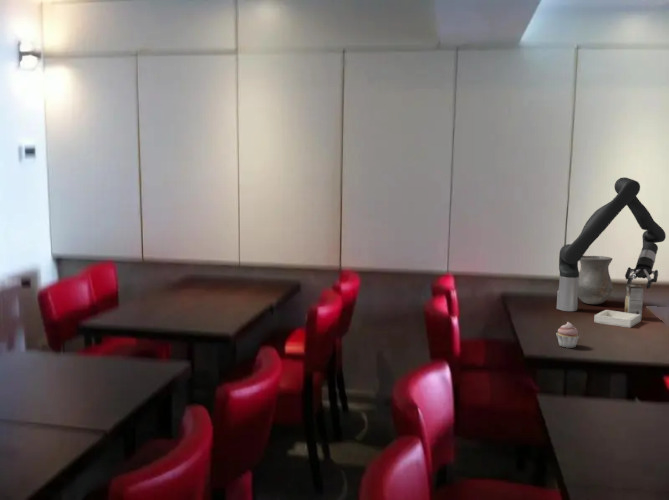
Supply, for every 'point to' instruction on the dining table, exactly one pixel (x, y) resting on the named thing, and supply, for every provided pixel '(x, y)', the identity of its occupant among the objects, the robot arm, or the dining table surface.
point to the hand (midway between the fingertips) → (638, 286)
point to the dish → (617, 318)
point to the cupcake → (567, 336)
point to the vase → (594, 279)
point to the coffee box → (634, 299)
